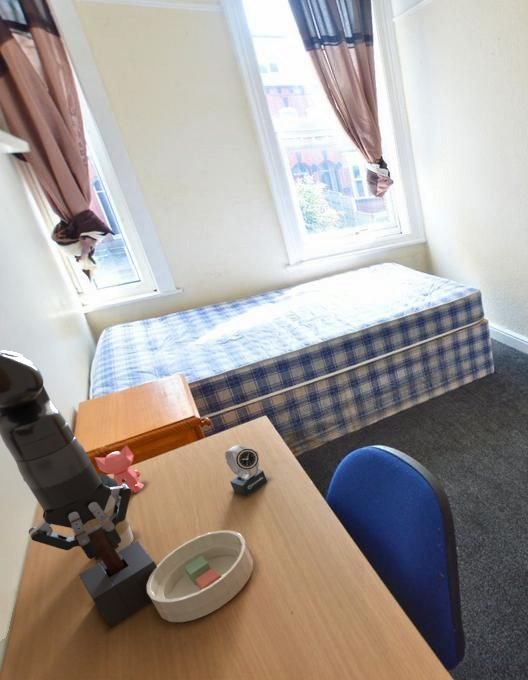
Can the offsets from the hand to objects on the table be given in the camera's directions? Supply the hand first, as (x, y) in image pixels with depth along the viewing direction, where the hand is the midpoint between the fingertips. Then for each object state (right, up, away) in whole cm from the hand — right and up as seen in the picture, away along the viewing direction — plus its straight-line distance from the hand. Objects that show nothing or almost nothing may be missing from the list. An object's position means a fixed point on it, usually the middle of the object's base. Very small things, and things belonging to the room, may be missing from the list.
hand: (106, 550), depth 80 cm
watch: (+8, +1, +30) cm, 31 cm away
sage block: (+12, -8, +6) cm, 16 cm away
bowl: (+14, -9, +5) cm, 17 cm away
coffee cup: (-12, -7, +16) cm, 21 cm away
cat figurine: (-22, 0, +32) cm, 39 cm away
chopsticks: (+1, -10, +4) cm, 11 cm away
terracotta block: (+16, -8, +3) cm, 19 cm away
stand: (+1, -10, +4) cm, 11 cm away
